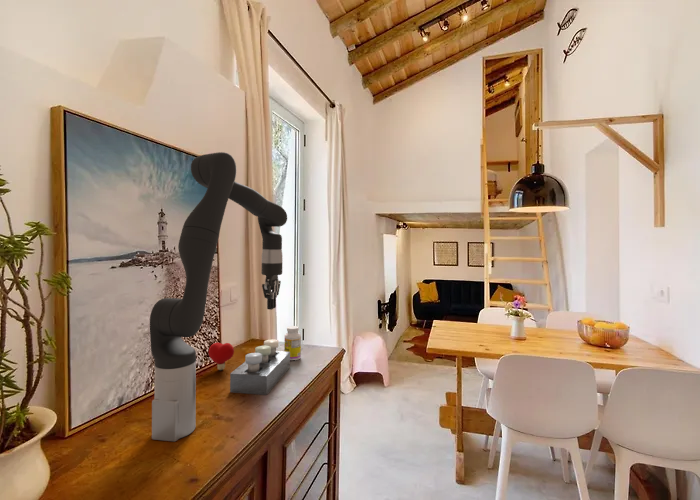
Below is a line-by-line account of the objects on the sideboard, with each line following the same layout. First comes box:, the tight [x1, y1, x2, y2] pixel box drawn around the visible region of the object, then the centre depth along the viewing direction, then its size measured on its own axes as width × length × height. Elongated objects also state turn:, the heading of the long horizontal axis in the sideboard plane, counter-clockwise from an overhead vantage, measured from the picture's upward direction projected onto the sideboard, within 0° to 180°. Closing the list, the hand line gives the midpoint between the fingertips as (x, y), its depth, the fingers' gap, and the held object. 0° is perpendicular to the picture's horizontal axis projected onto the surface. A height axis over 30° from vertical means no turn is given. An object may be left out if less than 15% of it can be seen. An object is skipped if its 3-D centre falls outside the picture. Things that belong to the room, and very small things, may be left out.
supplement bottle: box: [284, 325, 302, 361], centre depth 142 cm, size 7×7×13 cm
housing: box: [229, 350, 291, 396], centre depth 120 cm, size 24×12×6 cm, turn 173°
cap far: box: [263, 338, 279, 356], centre depth 128 cm, size 5×5×5 cm
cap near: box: [244, 352, 262, 373], centre depth 112 cm, size 5×5×5 cm
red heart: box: [208, 342, 235, 371], centre depth 128 cm, size 9×7×10 cm
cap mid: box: [254, 345, 271, 364], centre depth 120 cm, size 5×5×5 cm
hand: (271, 308), depth 128 cm, fingers closed
